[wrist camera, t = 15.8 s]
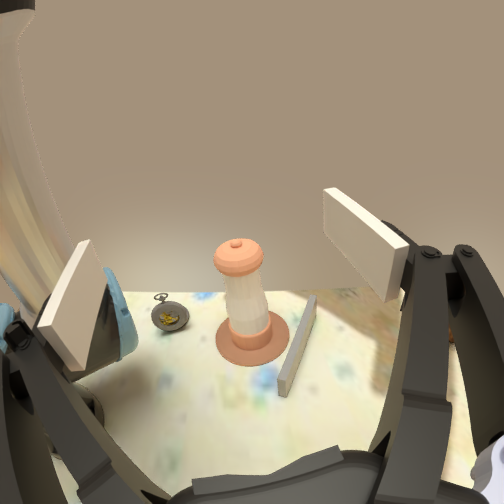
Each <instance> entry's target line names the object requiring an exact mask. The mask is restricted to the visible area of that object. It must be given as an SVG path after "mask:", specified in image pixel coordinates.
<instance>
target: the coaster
mask: <svg viewBox="0 0 504 504" xmlns="http://www.w3.org/2000/svg"><path fill="white" fill-rule="evenodd" d="M268 314H269V315H270V317H271V320H272V330H273V336H272V339H271V341H270V342H269V343H268V344H267V345H266V346H264V347H263V348H261V349H257V350H243V349H240V348H239V347H237V346H236V345H235V344H234V343H233V341H232V337H231V333H230V329H229V325H228V324H229V317H228V318H227V319H226V320H225V321H224V322H223V323H222V324H221V325H220V327H219V328H218V330H217V333H216V345H217V348H218V350H219V352H220V354H221V355H222V356H223V357H224V358H225V359H226V360H228V361H230V362H232V363H234V364H237V365H241V366H258V365H263V364H266V363H268V362H270V361H272V360H274V359H276V358H277V357H278V356H279V355H280V354H281V353H282V352H283V351H284V350H285V348H286V346H287V344H288V341H289V329H288V326H287V324H286V322H285V321H284V320H283V319H282V318H281V317H280V316H279V315H277V314H275V313H273V312H271V311H268Z"/></svg>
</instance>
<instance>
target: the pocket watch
mask: <svg viewBox="0 0 504 504" xmlns="http://www.w3.org/2000/svg"><path fill="white" fill-rule="evenodd" d="M161 294H165V295H167V296H166V297H163V296H160V298H159V299H157V298H155V297H156V296H158V295H161ZM156 296H154V299H155V300H159V301H162V303H160V304H158V305H156V306H155V307H154V309H153V310H152V313H151V317H152V321H153V323H154V325H155V326H156V327H158V328H160V329H162V330H167V331H171V330H176V329H178V328H180V327H182V326H183V325H184V324H185V323H186V322H187V321H188V318H189V312H188V310H187V309H186V308H185V307H184V306H182V305H181V304H179V303H177V302H173V301H166V302H165V301H164V300H165V299H166V298H167V297H168V294H167V293H160V294H157V295H156Z"/></svg>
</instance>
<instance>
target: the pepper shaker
mask: <svg viewBox="0 0 504 504" xmlns="http://www.w3.org/2000/svg"><path fill="white" fill-rule="evenodd" d="M263 255H264V254H263V252H262V249H261V248H260V246H259V245H258V244H257V243H256V242H254V241H253V240H250V239H244V238H240V239H233V240H229V241H227V242H225V243H223V244H221V245H220V246H219V247H218V248H217V250H216V252H215V255H214V265H215V267H216V268H217V269H218V270H219V271H220V272H221V273H222V275H223V280H224V284H225V289H226V310H227V314H228V317H229V324H228V325H229V329H230V333H231V337H232V341H233V343H234V344H235V345H236V346H237V347H239V348H240V349H243V350H257V349H261V348H263V347H264V346H266V345H267V344H268V343H269V342H270V341H271V339H272V336H273V330H272V320H271V317H270V315H269V314H268V303H267V300H266V297H265V294H264V291H263V288H262V283H261V276H260V269H259V267H260V265H261V264H262V261H263Z"/></svg>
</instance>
